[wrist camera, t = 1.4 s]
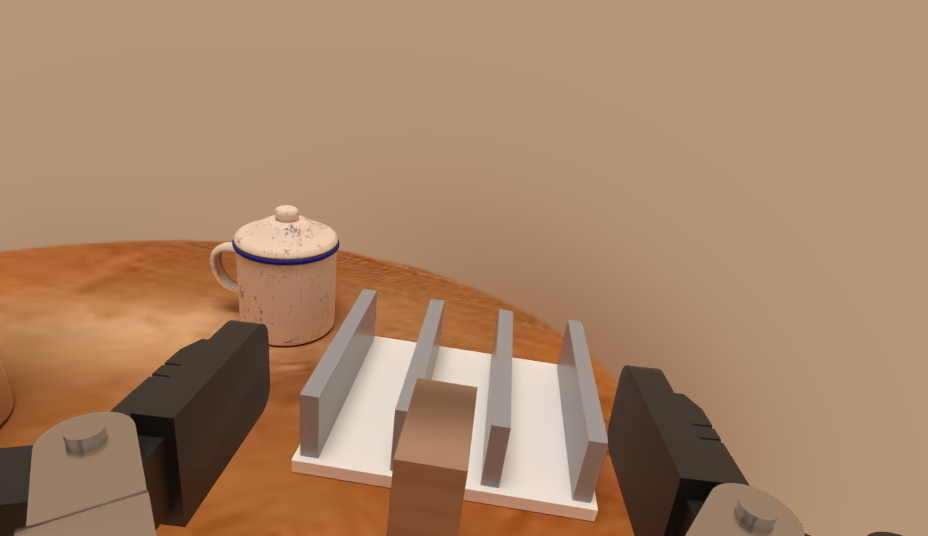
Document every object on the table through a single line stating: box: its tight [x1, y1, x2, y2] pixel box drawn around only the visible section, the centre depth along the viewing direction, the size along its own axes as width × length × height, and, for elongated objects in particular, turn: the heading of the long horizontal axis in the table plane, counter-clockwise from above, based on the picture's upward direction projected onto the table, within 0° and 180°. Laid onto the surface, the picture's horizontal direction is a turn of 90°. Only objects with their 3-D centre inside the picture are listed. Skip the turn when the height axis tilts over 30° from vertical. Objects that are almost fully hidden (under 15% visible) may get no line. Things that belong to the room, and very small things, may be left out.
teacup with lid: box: [210, 205, 339, 346], centre depth 49 cm, size 12×9×12 cm
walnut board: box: [387, 378, 478, 536], centre depth 26 cm, size 6×3×12 cm, turn 175°
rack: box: [291, 289, 608, 522], centre depth 41 cm, size 16×20×6 cm
